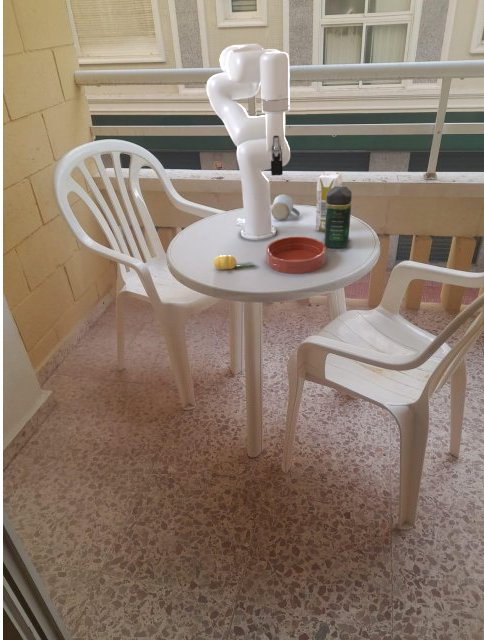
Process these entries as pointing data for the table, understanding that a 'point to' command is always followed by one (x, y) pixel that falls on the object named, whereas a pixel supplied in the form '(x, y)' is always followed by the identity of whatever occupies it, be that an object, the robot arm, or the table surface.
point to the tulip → (227, 263)
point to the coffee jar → (337, 217)
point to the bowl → (296, 255)
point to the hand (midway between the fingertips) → (277, 169)
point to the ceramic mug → (283, 208)
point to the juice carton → (323, 186)
